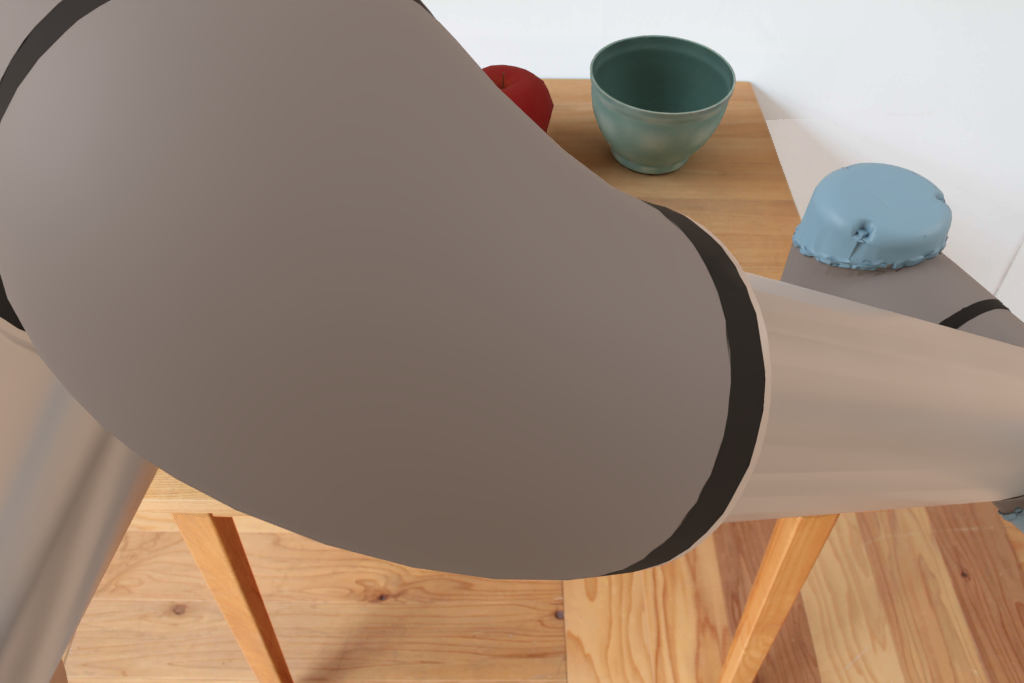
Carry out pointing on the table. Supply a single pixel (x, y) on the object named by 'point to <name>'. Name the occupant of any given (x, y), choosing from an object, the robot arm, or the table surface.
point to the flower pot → (658, 99)
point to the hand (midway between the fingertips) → (405, 222)
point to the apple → (524, 92)
